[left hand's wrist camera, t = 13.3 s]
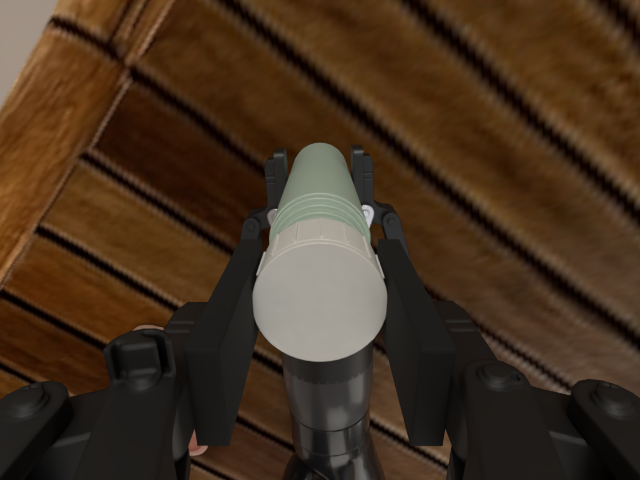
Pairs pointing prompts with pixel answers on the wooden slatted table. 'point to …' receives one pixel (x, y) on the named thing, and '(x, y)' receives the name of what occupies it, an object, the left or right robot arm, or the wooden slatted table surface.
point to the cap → (319, 291)
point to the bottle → (319, 192)
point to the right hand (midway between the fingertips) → (317, 149)
